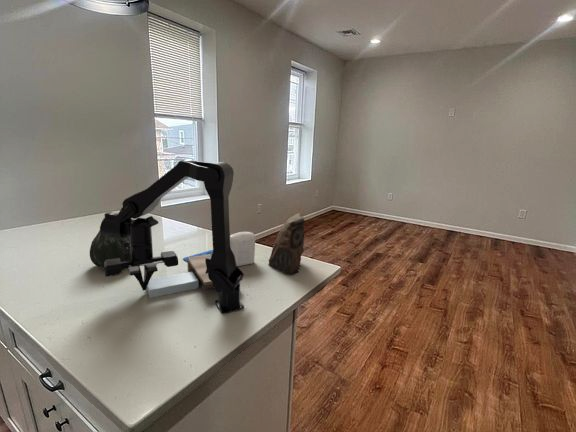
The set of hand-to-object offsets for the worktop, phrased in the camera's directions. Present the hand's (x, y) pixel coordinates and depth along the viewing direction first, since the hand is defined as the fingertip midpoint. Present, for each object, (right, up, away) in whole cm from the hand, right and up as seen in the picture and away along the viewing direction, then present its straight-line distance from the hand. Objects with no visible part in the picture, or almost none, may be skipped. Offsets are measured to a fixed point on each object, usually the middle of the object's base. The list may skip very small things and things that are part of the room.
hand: (144, 289), depth 90 cm
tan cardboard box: (+17, +1, +10) cm, 20 cm away
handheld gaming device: (+11, +5, +28) cm, 31 cm away
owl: (+41, +3, +24) cm, 48 cm away
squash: (-18, +4, +18) cm, 26 cm away
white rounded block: (+25, +4, +24) cm, 35 cm away
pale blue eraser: (+7, 0, +4) cm, 8 cm away
